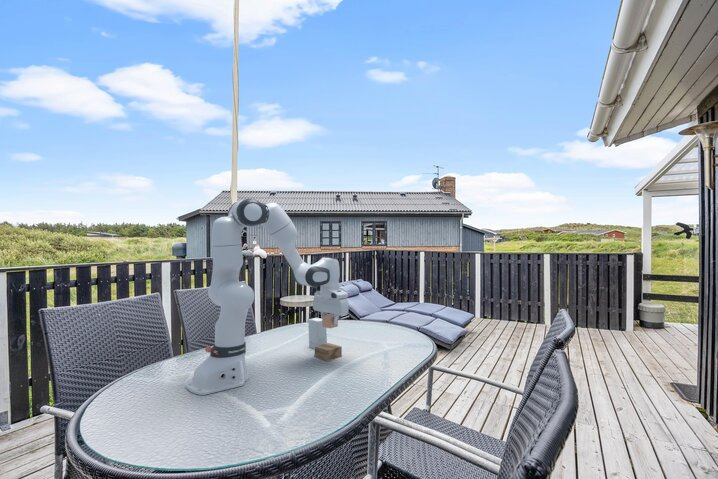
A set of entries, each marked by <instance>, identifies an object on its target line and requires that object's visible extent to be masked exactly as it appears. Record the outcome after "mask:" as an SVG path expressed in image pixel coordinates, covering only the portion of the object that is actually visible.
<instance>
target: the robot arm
mask: <svg viewBox="0 0 718 479" xmlns="http://www.w3.org/2000/svg"><path fill="white" fill-rule="evenodd" d="M259 225H260V226H262V227H263V228H264V230H265V231H266V232H267V234H268V237H270V239H271V240H272V242H274V244H275V245H276V246H277V248H278V249H279V250H280V252H281V254H282V256H283V257H284V260H286V262H287V264H288V265H289V267H290V269H291V273H292V279H293V281H294V282H295V283H296V284H297V285H300V286H307V287H311V288H315V287H316V288H317V287H320V290H316V291H315V292H314V296H313V302H312V309H313V310H314V311H315V312H317V311H318V312H320V315H321V317H322V316H323V315H327V314H333V315H334V317H335V318H334V320H332V323H333V324H337V320H338V321H339V318H340V317H344V316H348V313H349V301H348V298H349V294H348V292H347V291H345V290H343V289H342V288H341V286H340V285H341V284H340V276H341V274H340V273H341V271H340V269H341V268H340V263H339V260H338V258H337V259H336V258H335V257H331V256H330V257H329V256H323V257H321V258H320V259H319V260H318V261H316V262H314V263H312V264H309V263H307V262H305V261H304V260H303V258H302V256H301V255H300V253H299V252H298V250H297V248H296V246H295V245H296V244H295V243H296V241H297V239H298V235H299V233H298V230H297V228H296V225H295V224H294V222H293V221H292V219H291V217H290V216H289V215H288V214H287V213H286V211H285V210H284V209H283V208H282V207H281V206H280V205H279V204H278V203H276V202H269V203H266V204H264V203H263V202H260V201H259V200H257V199H254V198H243V199H239V200H238V201H237V200H236V202H234V203H233V204H232V205H230V208H229V209H228V211H227V213H226V216H221V217H218V218H216V219H215V220H214V221H213V223H212V230H211V254H212V272H211V280H210V285H209V287H208V290H207V295H208V298H209V299H210V300H211V302H212V303H213V304H214V305H216V306H218V307H220V312H219V316H218V319H217V321H216V322H215V324H214V344H213V345H212V347H211V346H206V347H205V348H204V351H205V352H207V353H210V354H209V356H208V357H206V359H205V360H204V361H203V362H202V363H200V364H199V365H198V366H197V367H196V368H195V370H194V371H193V376H192V380H190V381H188V382H186V385H185V388H186V390H188V391H189V392H191V393H192V394H196V395H200V396H205V395H210V394H213V393H217V392H221V391H227V390H231V389H234V388H238V387H243V386H244V385H245V383H246V382H247V381H248V380H249V373H248V369H247V365H246V351H247V349H246V348H247V345H246V342H247V341H246V340H245V339H246V338H245V337H246V336H245V334H246V333H245V332H246V320H247V316H248V311H249V310H250V307H251V306H252V305H253V303H254V300H255V292H254V289H253V288H252V287H251V286H249V285H248V284H247V283H245V282H243V281H240V280H239V277H240V273H241V268H242V266H243V264H244V257H243V256H244V255H243V254H244V253H243V243H242V233H243V230H244V228H251V227H257V226H259Z"/></svg>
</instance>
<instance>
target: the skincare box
mask: <svg viewBox="0 0 718 479" xmlns="http://www.w3.org/2000/svg"><path fill="white" fill-rule="evenodd" d="M327 333H328V332H327V328H326V327H322V318H319V317H314V318H309V319H308V345H309V346H308V347H309V349H313V350H315V347H316V346H319V345H323V344H326V343H328V341H327V340H328V338H327V336H328V334H327Z"/></svg>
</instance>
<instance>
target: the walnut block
mask: <svg viewBox="0 0 718 479" xmlns="http://www.w3.org/2000/svg"><path fill="white" fill-rule="evenodd" d="M342 352H343V351H342V345H338V344H333V343H332V342H331V343H330V342H327V343H326V344H323V345H319V346H316V347H315V349H314V358H317V359H320V360H324V361H326V362H327V361H328V362H330V361H332V360H335V358H336V359H338V358H342V356H343V355H342V354H343V353H342Z"/></svg>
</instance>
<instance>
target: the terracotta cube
mask: <svg viewBox="0 0 718 479" xmlns="http://www.w3.org/2000/svg"><path fill="white" fill-rule="evenodd" d="M321 317H322V318H321V319H322V327H326V329H333V328H337V327H338V325H339V319H338V320H337V324H333V323H332V320H334V318H335V317H334V314H330V313H327V314H326V315H323V316H322V315H321ZM338 328H339V327H338Z"/></svg>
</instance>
